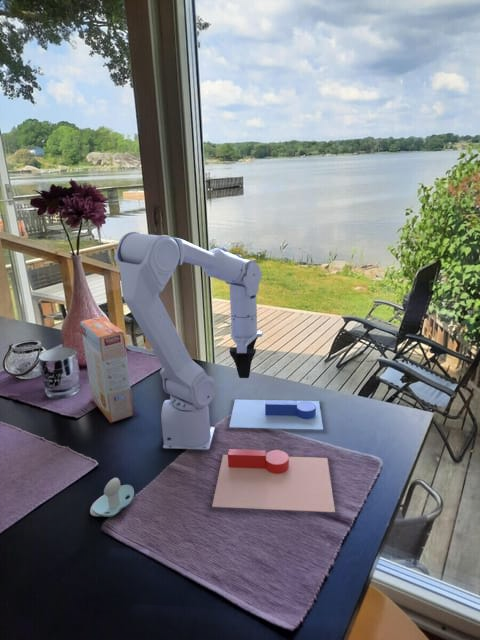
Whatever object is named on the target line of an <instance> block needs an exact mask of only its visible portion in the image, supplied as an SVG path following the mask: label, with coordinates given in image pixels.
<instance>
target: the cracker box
mask: <svg viewBox="0 0 480 640" xmlns="http://www.w3.org/2000/svg"><path fill="white" fill-rule="evenodd" d="M80 329H81V335H82V343H83V348H84V356H85V362H86V367H87V368H86V369H87V375H88V382H89V389H90V396H91V400H92V401H93V403H94V404H95V405H96V407H97V408H98V409H99V410H100V412H101V413H102V414H103V416H104V417H105V418H106V419H107V420H108V422H109V423H110V424H113V423H115V422H118V421H121V420H125V419H128V418H130V417H133V416H134V406H133V399H132V391H131V383H130V380H131V379H130V372H129V367H128V366H129V364H128V355H127V346H126V338H125V332H124V330H122V329H120V328H119V327H118V326H116V325H115V324H114V323H113V322H111V321H110V320H108V319H107V318H106V317H104V316H99V317H93V318H88V319H83V320H80Z"/></svg>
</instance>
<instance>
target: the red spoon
mask: <svg viewBox="0 0 480 640" xmlns="http://www.w3.org/2000/svg"><path fill="white" fill-rule="evenodd" d="M227 455H228V467H231V468H260V469H267V470H268V471H269V472H271V473H275V474H280V473H284V472H286V471H287V470H288V468H289V457H290V456H289V454H288V453H287V452H286V451H284V450H280V449H272V450H270V451H268V452H267V449H241V448H240V449H237V448H232V449H231V448H228V451H227Z"/></svg>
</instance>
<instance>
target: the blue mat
mask: <svg viewBox="0 0 480 640" xmlns="http://www.w3.org/2000/svg"><path fill="white" fill-rule="evenodd" d="M266 400H267V399H234V403H233V407H232V412H231V415H230V416H231V417H230V421H229V426H228V427H229V428H236V429H237V428H240V429H274V430H275V429H281V430H315V431H316V430H317V431H318V430H321V431H324V426H323V419H322V411H321V405H320V400H307V401H308V402H312V403H314V404H315V406H316V415H315V417H314V418H311V419H302V418H299V417H298V416H279V415H265V401H266ZM275 400H276V401H290V400H289V399H288V400H285V399H282V400H280V399H279V400H278V399H275ZM296 401H297V403H299V402H303V401H304V400H296Z"/></svg>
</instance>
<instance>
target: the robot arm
mask: <svg viewBox="0 0 480 640" xmlns="http://www.w3.org/2000/svg"><path fill="white" fill-rule="evenodd" d="M228 251H229V248H227V247H224V246H218V247H215V248H211V249H210V250H207V249H204V248H202V247H200V246H198V245H196V244H193V243H191V242H189V241H186V240H184V239H182V238H179V237H172V236H170V235H165V234H162V235H158V234H157V235H155V234H148V233H146V234H145V233H140V232H136V231H130V232H127V233H125V234H124V235H123V236H122V237H120V239H119V241H118V244H117V247H116V251H115V253H114V256H113V258H114V261H115V263H116V264H117V266H118V268H119V276H120V284H121V294H122V298H123V301H124V303H125V305H126V306H127V308H128V310H129V312H130V313H131V314H132V316H133V318H134V320H135V322H136V323H137V326H138V327H139V329H140V331H141V332H142V334H143V336H144V337H145V338H146V340H147V342H148V344H149V346H150V347H151V349H152V351H153V352H154V354H155V356H156V357H157V359H158V361H159V363H160V364H161V366H162V367H161V369H160V370H159V375H160V377H161V379H162V388H163V391H164V393H166V394H168V395H169V399H165V400H164V401H163V404H162V407H161V413H160V414H161V416H160V419H161V430H162V432H161V433H162V441H163V445H162V448H163V449H176V450H177V449H179V450H181V449H182V450H209V449H210V448H211V444H212V440H213V437H214V432H215V430H216V427H214V426H211V422H210V421H211V420H210V407H209V406H210V404H211V403H212V401H213V399H214V397H215V395H216V389H217V383H216V381H215V379H214V378H213V377H212V376H210V375H208V374H207V372H206V371H205V369H204V368H203V367H202V366H201V365H199V364H198V363H197V362H195V361H194V360H193V359H192V357H191V355H190V353H189V352H188V350H187V348H186V346H185V344H184V342H183V340H182V337H180V334H179V332H178V330H177V328H176V326H175V324H174V322H173V320H172V319H171V317H170V314H169V313H168V311H167V309H166V307H165V305H164V303H163V302H162V299H161V298H160V296H159V295H160V293H162V292H163V291H164V290H165V287H166V286H167V284H168V282H169V280H170V278H171V277H172V276H173V274H174V272H175V270H176V269H177V266H182V265H183V263H187V264H190V265H194V266H197V267H200V268H202V270H203V272H204V274H205V276H206V275H207V276H208V277H210V278H213V279H216V280H219V281H223V282H224V283H226V285H229V303H230V304H229V307H230V329H231V331H230V338H231V339H232V340H233V342H234V343H235V345H236V347H229V355H230V356H231V358H232V360H233V362H234V364H235V368H236V372H237V375H238V378H239V379H249V377H250V374H251V369H252V362H253V359H254V357H255V355H256V353H257V348H255V345H256V342H257V340H258V338H261V337H263V330H258V307H257V305H258V304H257V303H258V302H257V301H258V300H257V299H258V298H257V294H259V289H260V283H261V281H262V278H263V277H262V276H263V271H262V270H261V267H260V265H259V264H258V263H257V262H256V261H255V260H253V259H252V260H251V259H245V258H243V255H241V254H239V253H235V254H233V253H231V252H228Z"/></svg>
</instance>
